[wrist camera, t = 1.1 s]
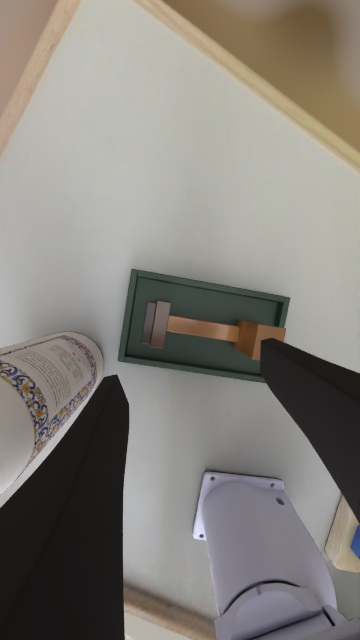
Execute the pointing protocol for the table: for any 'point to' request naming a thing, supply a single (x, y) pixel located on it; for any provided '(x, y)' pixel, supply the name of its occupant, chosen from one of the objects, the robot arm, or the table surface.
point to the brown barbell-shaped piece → (206, 330)
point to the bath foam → (41, 394)
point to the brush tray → (202, 305)
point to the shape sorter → (344, 539)
